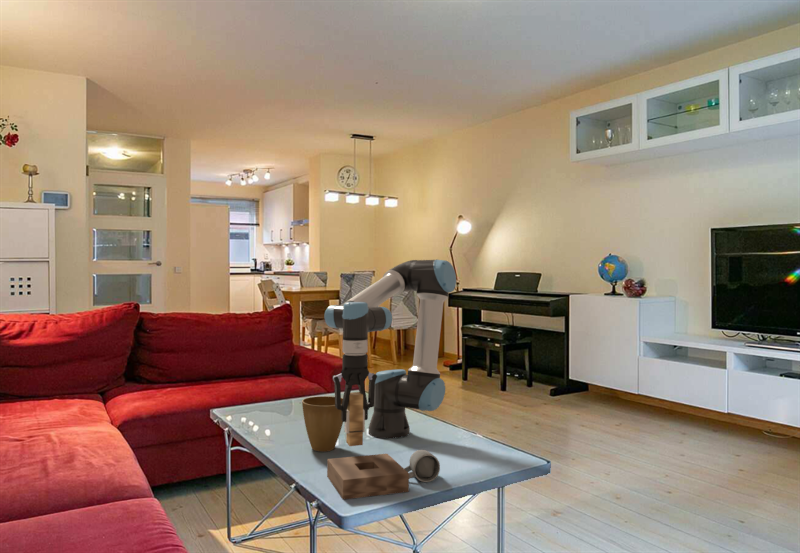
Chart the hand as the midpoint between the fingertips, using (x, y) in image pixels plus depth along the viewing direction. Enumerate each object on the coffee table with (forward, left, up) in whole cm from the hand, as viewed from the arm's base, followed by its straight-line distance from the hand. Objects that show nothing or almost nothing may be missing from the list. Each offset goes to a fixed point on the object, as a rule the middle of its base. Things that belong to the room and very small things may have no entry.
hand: (354, 431), depth 172 cm
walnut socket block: (0, +14, -11) cm, 18 cm away
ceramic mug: (-15, +14, -11) cm, 24 cm away
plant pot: (+4, -22, -11) cm, 25 cm away
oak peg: (0, 0, -4) cm, 4 cm away
